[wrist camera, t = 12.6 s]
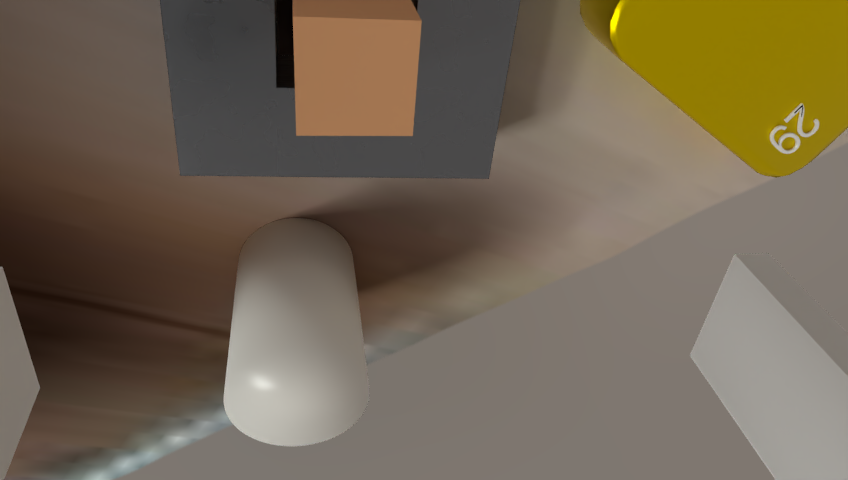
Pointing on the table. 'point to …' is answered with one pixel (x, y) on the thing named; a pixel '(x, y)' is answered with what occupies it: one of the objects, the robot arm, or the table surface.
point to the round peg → (296, 336)
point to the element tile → (740, 69)
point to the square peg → (355, 67)
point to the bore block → (275, 95)
